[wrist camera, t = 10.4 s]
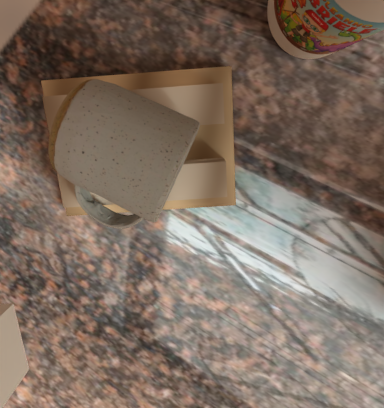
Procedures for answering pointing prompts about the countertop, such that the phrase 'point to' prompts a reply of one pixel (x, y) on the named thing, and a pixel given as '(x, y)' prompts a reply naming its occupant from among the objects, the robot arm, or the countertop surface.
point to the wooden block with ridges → (187, 105)
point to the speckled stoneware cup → (119, 150)
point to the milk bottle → (322, 24)
